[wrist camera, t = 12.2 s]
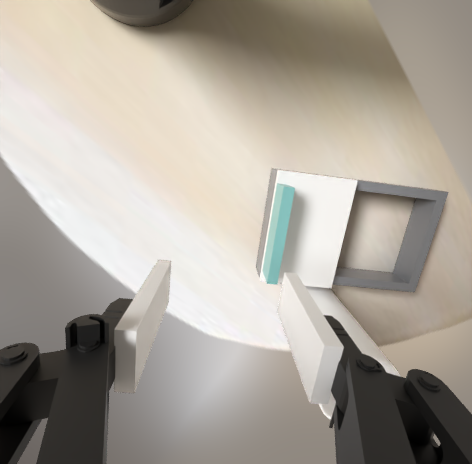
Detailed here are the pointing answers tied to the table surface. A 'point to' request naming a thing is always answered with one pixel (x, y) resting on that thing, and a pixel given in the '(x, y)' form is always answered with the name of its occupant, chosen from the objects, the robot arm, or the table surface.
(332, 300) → the cup
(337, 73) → the table surface
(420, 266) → the grey shallow rectangular tray
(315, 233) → the cover
